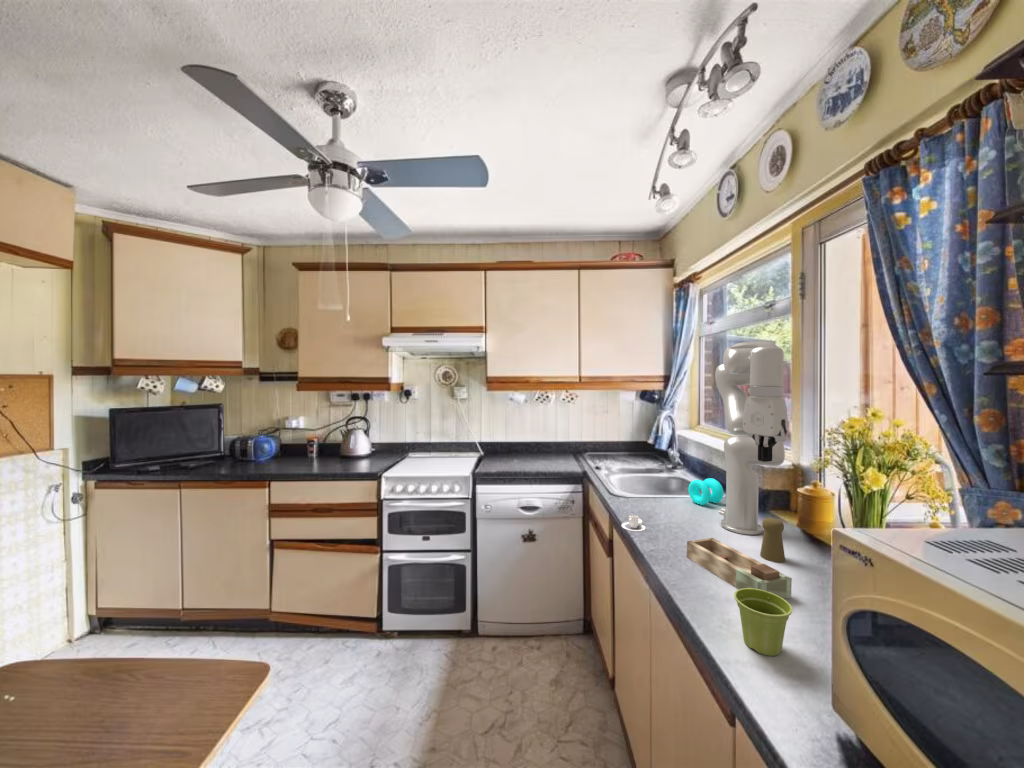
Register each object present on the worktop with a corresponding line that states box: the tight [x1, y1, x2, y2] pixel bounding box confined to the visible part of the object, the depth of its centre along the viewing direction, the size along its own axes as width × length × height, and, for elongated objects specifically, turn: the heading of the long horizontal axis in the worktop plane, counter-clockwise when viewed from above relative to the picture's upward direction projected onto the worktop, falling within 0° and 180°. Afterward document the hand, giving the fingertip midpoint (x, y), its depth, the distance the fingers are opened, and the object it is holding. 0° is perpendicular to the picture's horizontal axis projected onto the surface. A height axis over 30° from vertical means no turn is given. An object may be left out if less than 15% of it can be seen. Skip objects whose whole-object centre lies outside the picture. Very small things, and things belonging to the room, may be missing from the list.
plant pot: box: [733, 588, 793, 657], centre depth 75 cm, size 9×9×9 cm
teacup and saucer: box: [621, 514, 646, 532], centre depth 135 cm, size 9×8×4 cm
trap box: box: [686, 537, 793, 600], centre depth 102 cm, size 24×9×4 cm, turn 16°
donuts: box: [687, 477, 725, 506], centre depth 161 cm, size 10×10×10 cm
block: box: [751, 563, 780, 581], centre depth 94 cm, size 4×4×4 cm
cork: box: [759, 517, 786, 563], centre depth 112 cm, size 6×6×11 cm
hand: (764, 460), depth 106 cm, fingers closed
